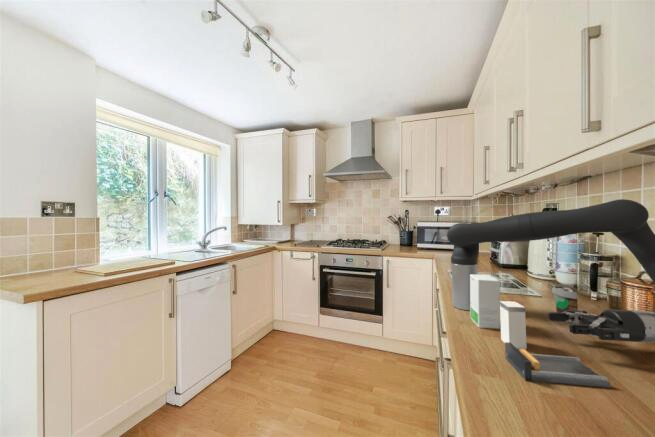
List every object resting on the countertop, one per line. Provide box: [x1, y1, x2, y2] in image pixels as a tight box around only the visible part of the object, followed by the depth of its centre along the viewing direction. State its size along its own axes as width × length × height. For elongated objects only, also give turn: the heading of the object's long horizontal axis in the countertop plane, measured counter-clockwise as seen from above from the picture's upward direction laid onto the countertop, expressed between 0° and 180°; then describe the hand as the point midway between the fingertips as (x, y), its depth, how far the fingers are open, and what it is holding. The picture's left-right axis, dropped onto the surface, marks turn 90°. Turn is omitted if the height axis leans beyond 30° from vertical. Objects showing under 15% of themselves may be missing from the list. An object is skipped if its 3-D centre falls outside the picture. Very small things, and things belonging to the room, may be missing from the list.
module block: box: [500, 300, 527, 350], centre depth 71 cm, size 5×4×11 cm
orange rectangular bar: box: [519, 349, 540, 371], centre depth 59 cm, size 6×1×2 cm, turn 168°
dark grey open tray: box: [504, 342, 611, 389], centre depth 58 cm, size 9×15×4 cm, turn 78°
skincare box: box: [469, 274, 501, 330], centre depth 85 cm, size 8×7×16 cm
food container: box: [551, 284, 579, 317], centre depth 90 cm, size 12×6×10 cm, turn 141°
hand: (559, 322), depth 69 cm, fingers open, 8 cm apart
